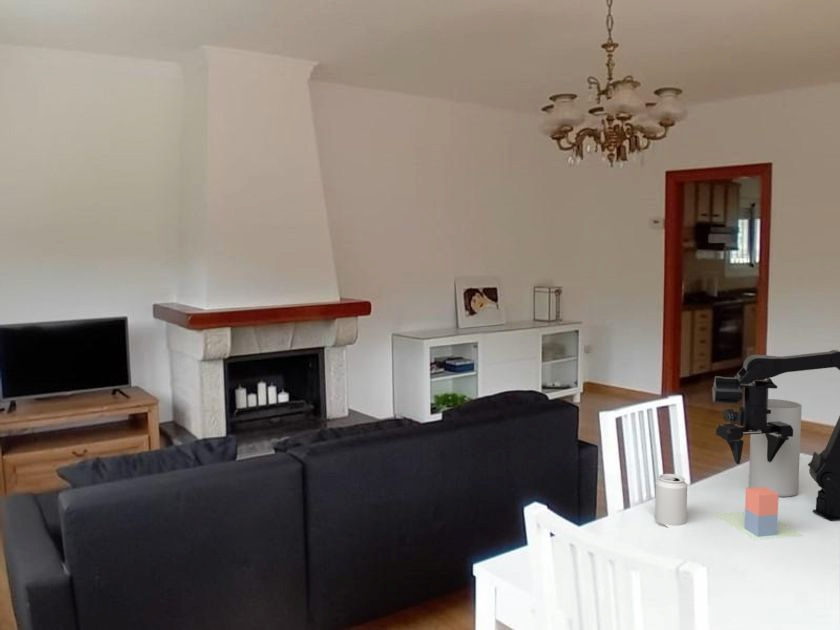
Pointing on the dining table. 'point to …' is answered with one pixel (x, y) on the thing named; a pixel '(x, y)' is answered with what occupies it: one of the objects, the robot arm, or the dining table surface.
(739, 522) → the build board
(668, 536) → the dining table surface
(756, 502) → the red brick
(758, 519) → the blue brick
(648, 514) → the dining table surface
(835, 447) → the robot arm
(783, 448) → the gray cylinder
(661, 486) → the can
